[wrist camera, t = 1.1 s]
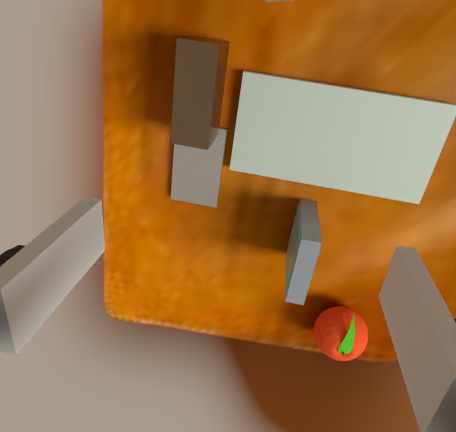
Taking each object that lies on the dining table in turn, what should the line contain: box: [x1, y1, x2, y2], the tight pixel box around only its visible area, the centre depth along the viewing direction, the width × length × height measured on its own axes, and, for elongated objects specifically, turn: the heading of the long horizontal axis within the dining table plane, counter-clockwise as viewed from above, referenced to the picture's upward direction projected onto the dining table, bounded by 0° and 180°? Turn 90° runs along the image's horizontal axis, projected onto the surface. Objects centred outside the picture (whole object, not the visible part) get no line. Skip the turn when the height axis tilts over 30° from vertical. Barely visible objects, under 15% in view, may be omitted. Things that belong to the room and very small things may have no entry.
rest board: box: [229, 71, 456, 204], centre depth 41 cm, size 11×22×1 cm, turn 82°
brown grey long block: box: [170, 36, 229, 208], centre depth 41 cm, size 19×6×6 cm, turn 172°
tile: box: [285, 198, 322, 305], centre depth 43 cm, size 8×2×10 cm, turn 172°
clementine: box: [314, 306, 368, 361], centre depth 49 cm, size 8×7×7 cm
